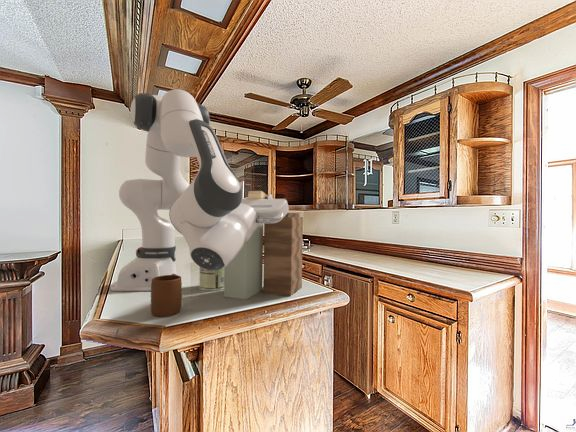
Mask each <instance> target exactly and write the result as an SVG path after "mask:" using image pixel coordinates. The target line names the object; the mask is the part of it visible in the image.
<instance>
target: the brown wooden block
mask: <svg viewBox="0 0 576 432" xmlns="http://www.w3.org/2000/svg"><path fill="white" fill-rule="evenodd" d="M303 219H304V218H303V216H300V212H288V213H287V214H286V216H285V217H284V218H283V219H282V220H281V221H279V222H277V223H273V224H268V223H263V279H262V291H263V293H264V294H268V295H269V294H271V295H276V296H278V295H280V296H285V295H286V296H287V297H292V296H293V295H295V294H296V293H297V292H298V291H299V290H300V289H302V287H303V286H302V285H303V233H304V231H303V230H304V229H303V228H304V227H303V225H304V224H303V223H304V220H303ZM291 295H292V296H291Z"/></svg>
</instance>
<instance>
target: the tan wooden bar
mask: <svg viewBox="0 0 576 432" xmlns="http://www.w3.org/2000/svg"><path fill="white" fill-rule="evenodd" d="M247 192H248V194H247V197H248V199H265V196H266V195H268V194H266V193H265V192H264V191H262V190H248V191H247Z"/></svg>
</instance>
